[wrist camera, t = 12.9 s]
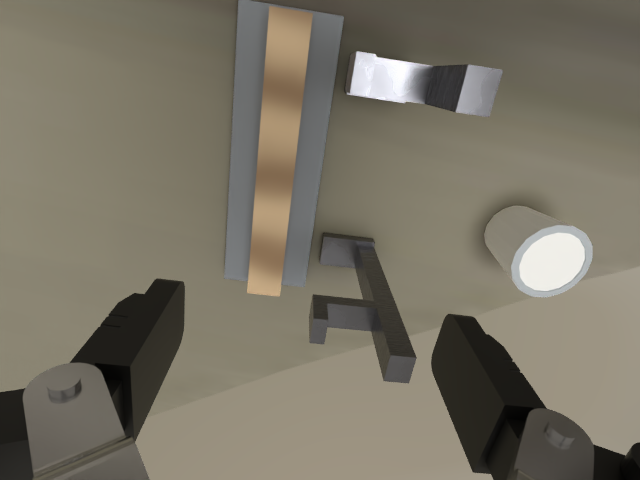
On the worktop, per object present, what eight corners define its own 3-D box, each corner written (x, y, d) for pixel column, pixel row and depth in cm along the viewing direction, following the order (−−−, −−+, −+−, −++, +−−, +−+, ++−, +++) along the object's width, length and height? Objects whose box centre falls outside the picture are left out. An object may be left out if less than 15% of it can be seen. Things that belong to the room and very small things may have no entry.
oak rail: (272, 12, 29) (269, 5, 26) (312, 18, 29) (312, 13, 27) (251, 277, 38) (247, 293, 35) (281, 280, 38) (279, 296, 36)
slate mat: (241, 1, 30) (238, -2, 29) (342, 18, 31) (344, 16, 29) (227, 271, 40) (224, 278, 38) (304, 279, 40) (304, 287, 39)
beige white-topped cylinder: (475, 265, 40) (507, 301, 34) (480, 202, 37) (516, 229, 31) (541, 259, 40) (585, 294, 34) (551, 196, 37) (601, 221, 31)
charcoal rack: (337, 53, 32) (367, 34, 16) (410, 64, 32) (507, 57, 17) (307, 258, 39) (308, 380, 24) (367, 265, 40) (406, 389, 24)
